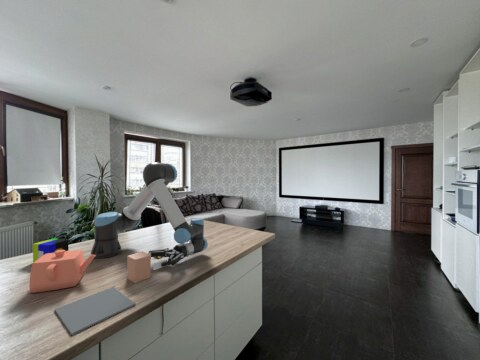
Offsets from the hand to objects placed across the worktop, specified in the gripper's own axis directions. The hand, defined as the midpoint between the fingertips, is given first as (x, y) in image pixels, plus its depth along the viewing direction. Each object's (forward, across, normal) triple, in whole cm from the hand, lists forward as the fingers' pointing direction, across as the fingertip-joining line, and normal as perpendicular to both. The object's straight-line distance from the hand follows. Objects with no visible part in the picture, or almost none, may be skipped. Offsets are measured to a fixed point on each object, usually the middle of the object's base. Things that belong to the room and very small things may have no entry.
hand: (145, 262), depth 95 cm
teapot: (+24, +20, -6) cm, 31 cm away
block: (+3, +1, -6) cm, 6 cm away
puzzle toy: (+21, +56, -6) cm, 60 cm away
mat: (+23, -9, -6) cm, 25 cm away
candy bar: (-23, +17, -7) cm, 29 cm away
